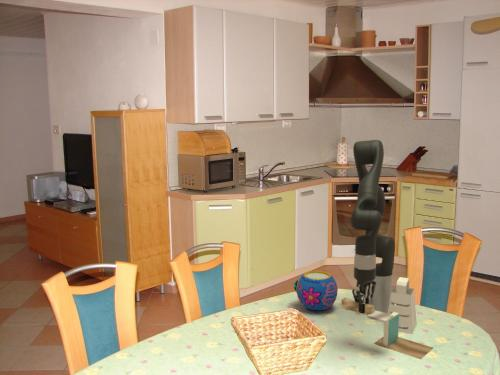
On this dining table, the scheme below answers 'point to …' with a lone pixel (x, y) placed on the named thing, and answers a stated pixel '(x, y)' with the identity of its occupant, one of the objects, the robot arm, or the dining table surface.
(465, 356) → the dining table surface
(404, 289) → the grater
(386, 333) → the tile
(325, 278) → the ceramic pot
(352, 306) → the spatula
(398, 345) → the board
